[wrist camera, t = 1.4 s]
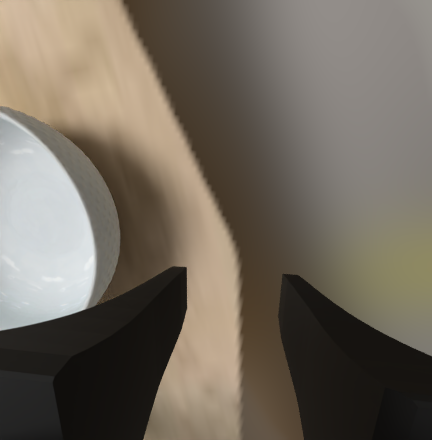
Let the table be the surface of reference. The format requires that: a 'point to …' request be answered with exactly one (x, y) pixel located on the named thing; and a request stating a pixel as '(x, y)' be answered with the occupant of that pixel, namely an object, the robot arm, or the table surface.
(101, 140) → the table surface
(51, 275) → the cereal bowl
